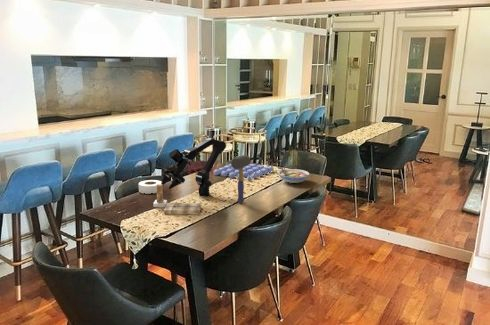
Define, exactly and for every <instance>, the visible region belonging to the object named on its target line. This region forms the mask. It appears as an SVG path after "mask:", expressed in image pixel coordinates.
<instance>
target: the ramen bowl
mask: <svg viewBox="0 0 490 325" xmlns="http://www.w3.org/2000/svg"><path fill="white" fill-rule="evenodd" d="M277 173H278V174H277V175H278V176H279V177H280V179H282V181H284V182H286V183H288V182H289V183H288V184H291V183H297V184H299V183H302V182H304V181H306V180H307V179H308V178H309V176H310V172H309V171H306V170H304V169H297V168H296V169H295V168H287V169H286V168H285V167H281V169H280V170H279V171H278V172H277Z"/></svg>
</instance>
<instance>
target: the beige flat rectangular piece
mask: <svg viewBox="0 0 490 325" xmlns="http://www.w3.org/2000/svg"><path fill="white" fill-rule="evenodd" d="M201 208H202V203H200V202H199V203H198V202H195V203H194V202H193V203H191V202H185V203H184V202H183V203H177V202H176V203H175V202H167V205H166V207H164V209H163V215H200V212H201Z"/></svg>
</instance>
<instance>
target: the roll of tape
mask: <svg viewBox="0 0 490 325" xmlns="http://www.w3.org/2000/svg"><path fill="white" fill-rule="evenodd" d="M161 182H162V180H157V179H149V180H147V179H146V180H141V181H140V182H139V183H138V192H139V193H141V194H144V193H145V194H147V195H149V194H150V195H151V193H153V194H157V187H156V185H157V184H161Z"/></svg>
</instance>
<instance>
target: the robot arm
mask: <svg viewBox="0 0 490 325" xmlns="http://www.w3.org/2000/svg"><path fill="white" fill-rule="evenodd" d="M210 146H212V151H211V153H210V155H209V157H208V159H207V161H206V163H205V165H204V166H203V169H202V170H198V172H197V173H196V175H195V178H194V180H195V182H196V184H197V185H198V186H199V187H198V195H199V197H200V196H203V197H205V196H206V197H208V196H210V187H212V184H213V183H212V182H211V181H210V173H211V171H212V169H213V167H214V165H215V164H216V161H217V160H218V157H219V156H220V155H221V153H224V151H225V149H226V147H227V143H226V142H225V141H224V140H220V139H216V138H215V139H214V138H211V137H207V138H206V139H205V140H204V141H202V142H200V143H198V144H197V145H195V146H194V147H190V148H187V149H184V151H179V149H178V148H174V149H173V150H172V151H170V152H169V154H168V157H169V158H170V159H171V160H172V161H173V162H174V163H176V164H171V165H170V164H167V163H165V164H164V167H163V169H162V170H161V175H162V180H161V184H162V185H163V186H164V185H165V184H167V182H169V181H170V180H171V179H172V182H171V183H170V185H169V187H168V189H169V190H172V189H174V188H175V187H177V186H178V185H182V184H184V183H185V181H186V179H185V177H183V176H182V175H181V174H183V173H184V172H185V171H184V170H185V169H186V167H187V166H190V167H191V161H193V160H194V159H196V157H197V156H198V154H199V153H202V152H203V151H204V150H206V149H207V148H209V147H210Z"/></svg>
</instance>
